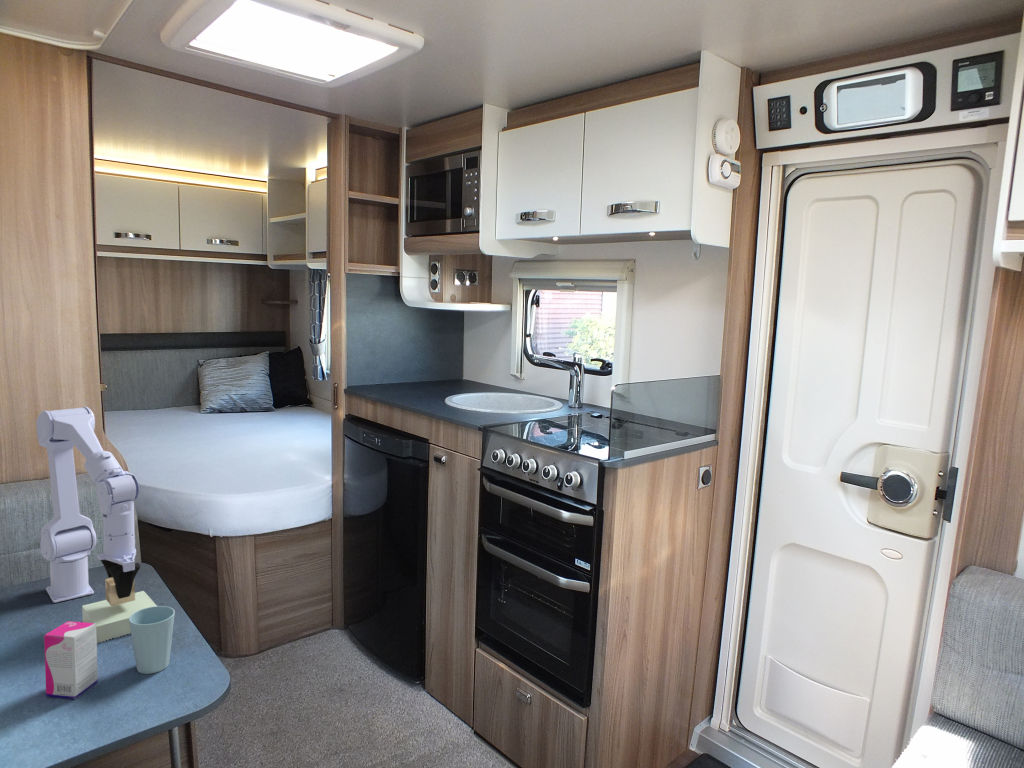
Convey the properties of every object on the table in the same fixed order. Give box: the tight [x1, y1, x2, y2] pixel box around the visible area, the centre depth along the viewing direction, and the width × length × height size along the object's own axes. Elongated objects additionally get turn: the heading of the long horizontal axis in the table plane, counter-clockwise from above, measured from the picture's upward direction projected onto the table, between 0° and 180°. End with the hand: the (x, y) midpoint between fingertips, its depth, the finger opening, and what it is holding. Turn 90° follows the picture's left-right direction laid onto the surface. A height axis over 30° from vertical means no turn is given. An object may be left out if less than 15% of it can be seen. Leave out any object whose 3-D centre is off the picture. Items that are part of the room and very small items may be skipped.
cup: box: [129, 605, 176, 675], centre depth 127 cm, size 8×8×10 cm
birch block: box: [104, 577, 136, 606], centre depth 142 cm, size 4×4×4 cm
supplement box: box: [43, 620, 99, 700], centre depth 118 cm, size 6×6×12 cm
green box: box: [81, 590, 158, 644], centre depth 143 cm, size 12×12×4 cm
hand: (120, 592), depth 142 cm, fingers closed on birch block, 4 cm apart
